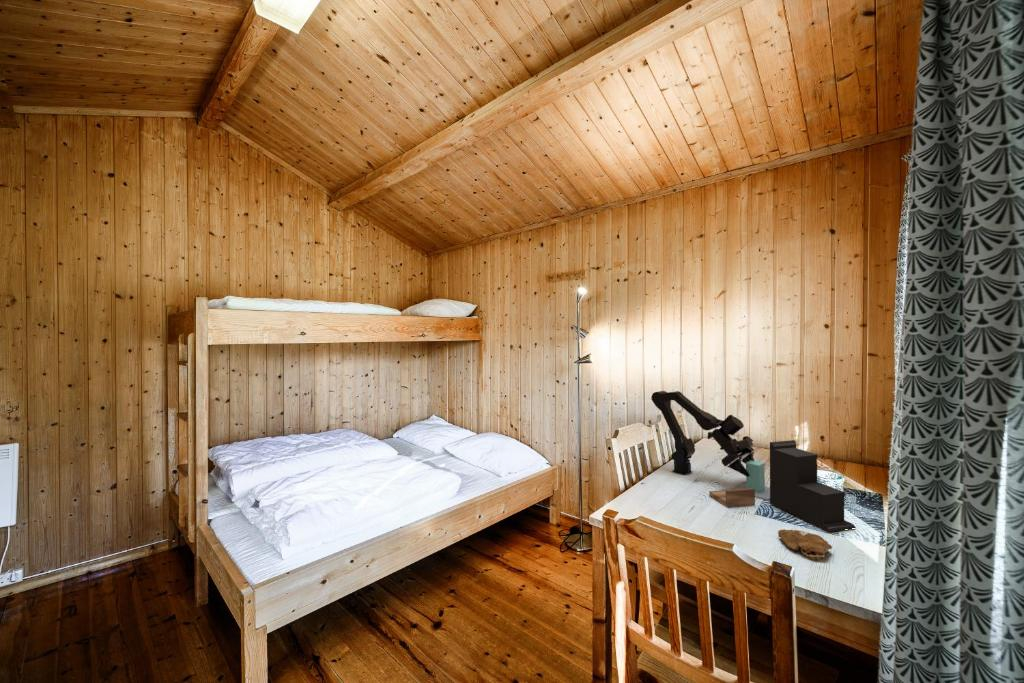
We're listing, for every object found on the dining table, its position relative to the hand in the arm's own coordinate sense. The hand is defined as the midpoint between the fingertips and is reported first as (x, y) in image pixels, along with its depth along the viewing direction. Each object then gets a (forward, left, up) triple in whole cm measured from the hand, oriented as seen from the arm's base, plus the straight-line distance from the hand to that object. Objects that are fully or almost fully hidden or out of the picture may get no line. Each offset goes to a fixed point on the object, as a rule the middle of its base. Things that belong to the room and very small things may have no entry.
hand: (753, 473), depth 167 cm
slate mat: (+1, 0, -7) cm, 7 cm away
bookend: (+22, -11, -7) cm, 26 cm away
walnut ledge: (-1, -17, -7) cm, 18 cm away
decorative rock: (+29, -37, -7) cm, 47 cm away
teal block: (+1, 0, -6) cm, 6 cm away
